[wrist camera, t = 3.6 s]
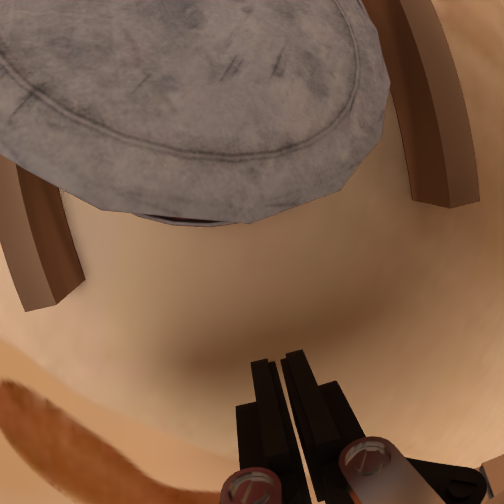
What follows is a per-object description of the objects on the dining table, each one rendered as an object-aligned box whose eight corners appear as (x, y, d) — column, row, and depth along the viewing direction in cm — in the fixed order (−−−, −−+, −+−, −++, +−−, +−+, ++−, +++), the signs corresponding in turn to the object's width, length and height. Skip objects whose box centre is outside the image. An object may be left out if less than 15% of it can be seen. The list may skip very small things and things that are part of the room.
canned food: (134, 54, 13) (80, -107, 4) (336, 58, 13) (380, -121, 3) (69, 275, 11) (-168, 156, 1) (350, 298, 10) (647, 146, 1)
